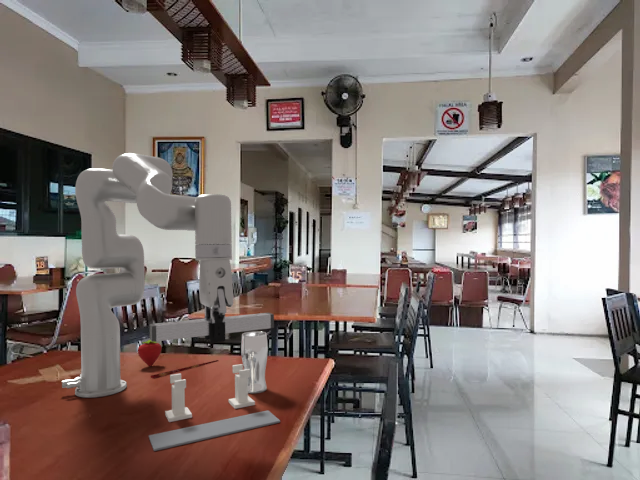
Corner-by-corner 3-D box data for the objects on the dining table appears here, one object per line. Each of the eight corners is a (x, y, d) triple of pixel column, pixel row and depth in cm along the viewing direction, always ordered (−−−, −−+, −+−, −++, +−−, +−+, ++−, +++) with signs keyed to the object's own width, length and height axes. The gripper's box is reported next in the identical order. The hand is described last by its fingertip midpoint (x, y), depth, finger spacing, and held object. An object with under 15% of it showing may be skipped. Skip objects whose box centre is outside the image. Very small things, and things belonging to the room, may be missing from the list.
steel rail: (152, 341, 85) (151, 326, 86) (149, 339, 88) (149, 324, 88) (274, 327, 98) (273, 314, 98) (268, 325, 100) (268, 312, 101)
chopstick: (219, 362, 149) (219, 359, 149) (153, 379, 130) (153, 376, 130) (215, 361, 150) (215, 358, 150) (150, 378, 131) (150, 375, 131)
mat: (153, 451, 83) (153, 449, 83) (148, 437, 89) (148, 435, 89) (280, 422, 96) (280, 420, 96) (268, 411, 102) (268, 410, 102)
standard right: (235, 409, 104) (234, 372, 104) (227, 401, 109) (227, 366, 109) (255, 405, 106) (254, 368, 106) (247, 398, 112) (246, 363, 112)
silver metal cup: (263, 394, 114) (262, 336, 114) (238, 393, 115) (237, 336, 115) (271, 386, 121) (270, 331, 121) (247, 385, 122) (246, 331, 122)
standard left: (169, 422, 97) (168, 382, 97) (164, 413, 102) (164, 375, 102) (192, 418, 99) (191, 378, 99) (186, 409, 104) (186, 372, 104)
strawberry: (135, 366, 143) (134, 335, 144) (158, 362, 148) (157, 332, 148) (141, 370, 139) (140, 338, 139) (164, 365, 144) (164, 335, 144)
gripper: (243, 253, 88) (244, 345, 88) (220, 252, 102) (221, 331, 102) (205, 254, 84) (207, 350, 84) (187, 253, 98) (188, 335, 98)
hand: (215, 339), depth 93 cm, fingers closed on steel rail, 3 cm apart
